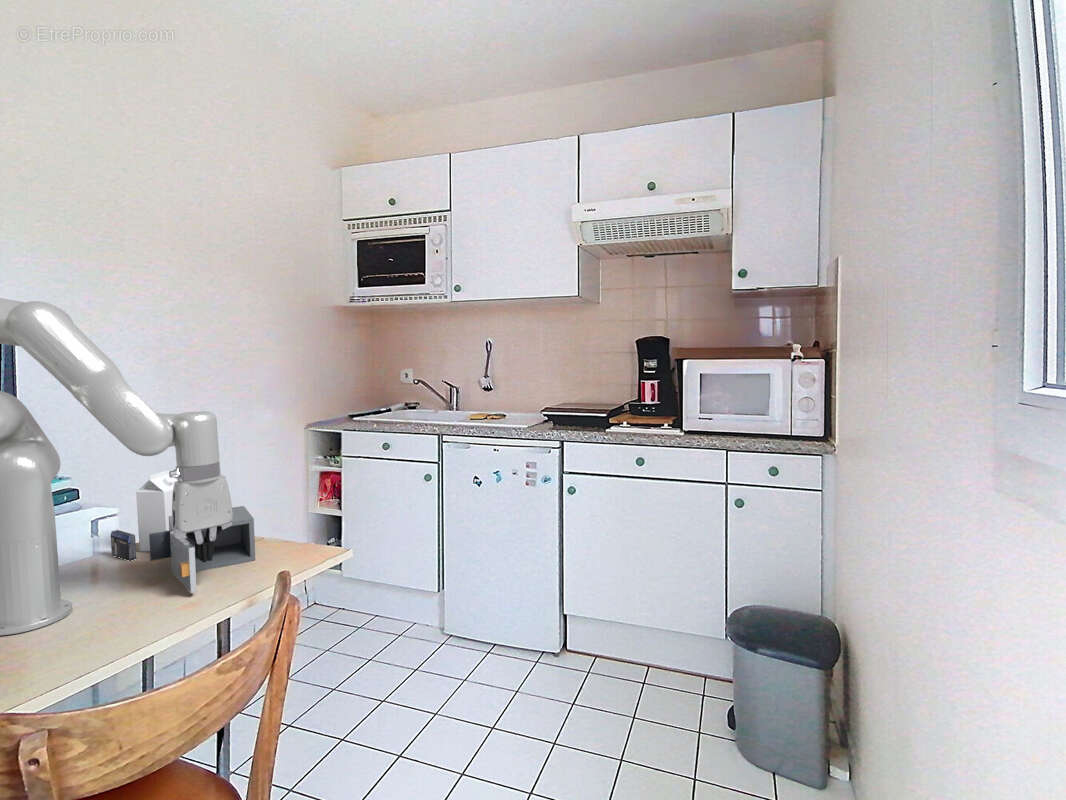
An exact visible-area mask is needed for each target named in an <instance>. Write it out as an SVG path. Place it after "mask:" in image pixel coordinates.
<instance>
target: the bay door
mask: <svg viewBox="0 0 1066 800" xmlns="http://www.w3.org/2000/svg"><path fill="white" fill-rule="evenodd" d="M170 546H171V557H170V562H171V573H172V575H174V577H175V578H176V579H177V580H178V581H179V582H180V583H181V584H182V585H183V586H184V587H185V588H186V589H187V590H188V591H189V593H191V594H192V593H196V592H197V572H196V567H195V547H194V546H193V545H192V544H190V543H189V542H188V541H187V540H186V539H184V538H175V537H173V531H172V532H170Z"/></svg>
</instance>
